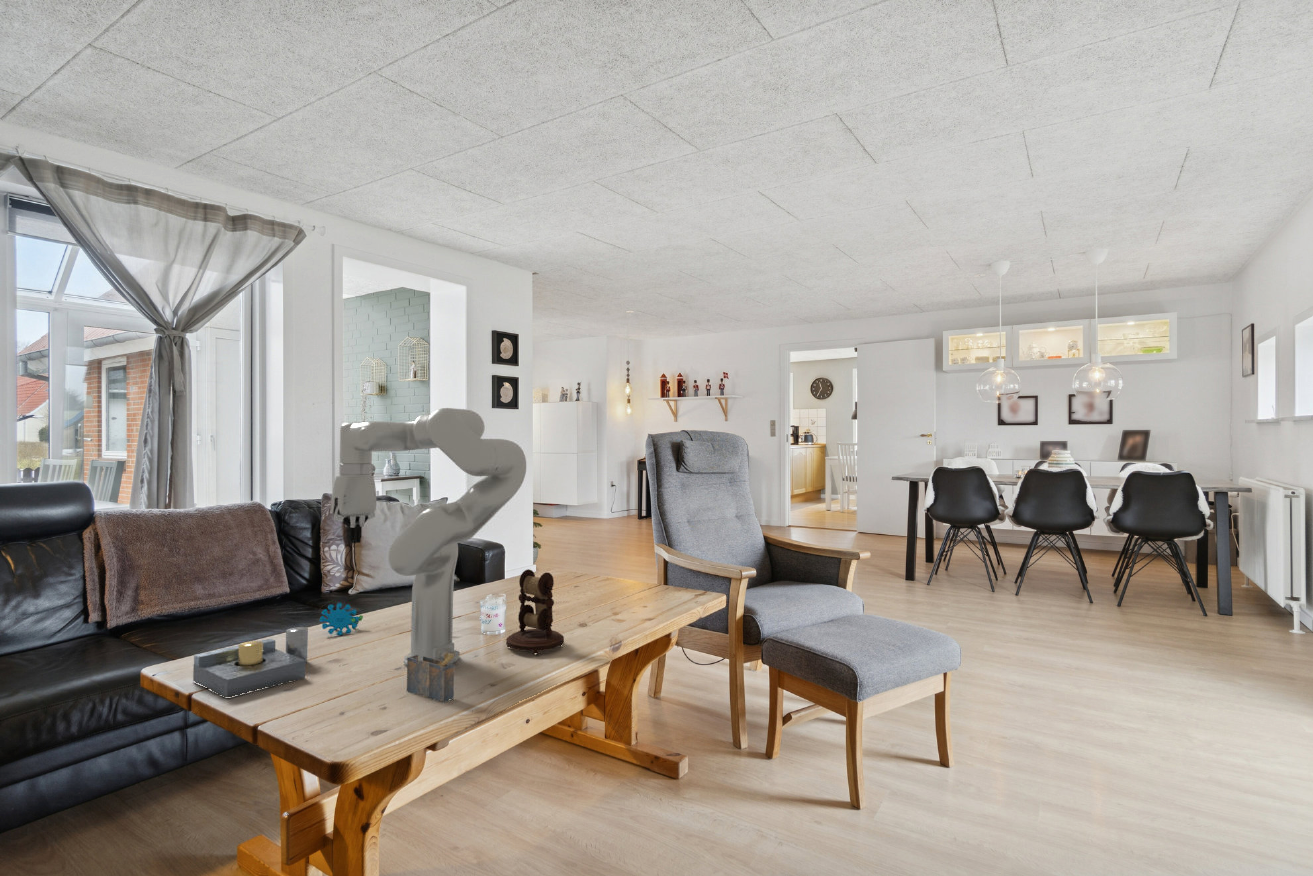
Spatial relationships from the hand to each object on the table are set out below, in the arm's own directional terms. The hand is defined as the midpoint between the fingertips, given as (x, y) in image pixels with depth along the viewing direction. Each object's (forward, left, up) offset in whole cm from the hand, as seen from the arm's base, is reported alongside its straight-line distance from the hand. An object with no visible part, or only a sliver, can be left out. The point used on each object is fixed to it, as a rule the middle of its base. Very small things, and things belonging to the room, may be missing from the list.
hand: (354, 542), depth 175 cm
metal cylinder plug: (0, +14, -27) cm, 31 cm away
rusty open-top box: (-42, +8, -28) cm, 51 cm away
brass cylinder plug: (-4, +26, -27) cm, 38 cm away
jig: (-4, +26, -27) cm, 38 cm away
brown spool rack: (-36, -29, -27) cm, 54 cm away
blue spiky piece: (+16, -7, -27) cm, 33 cm away
